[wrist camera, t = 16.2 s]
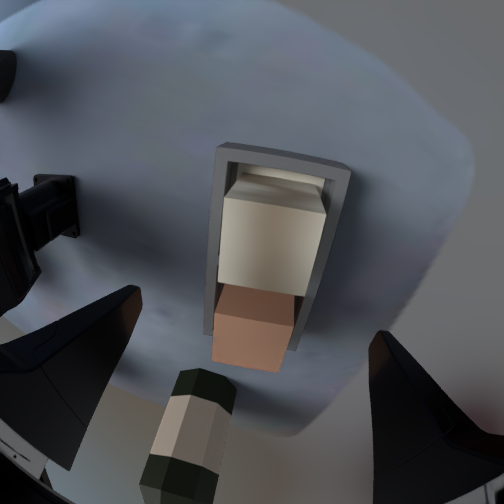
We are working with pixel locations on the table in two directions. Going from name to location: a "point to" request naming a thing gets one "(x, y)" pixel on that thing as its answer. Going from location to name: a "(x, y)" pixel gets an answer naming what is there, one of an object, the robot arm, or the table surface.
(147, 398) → the table surface
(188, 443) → the wine bottle
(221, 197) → the pocket frame
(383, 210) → the table surface
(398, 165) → the table surface
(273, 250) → the ivory block
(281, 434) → the table surface
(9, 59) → the travel mug
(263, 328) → the terracotta block
